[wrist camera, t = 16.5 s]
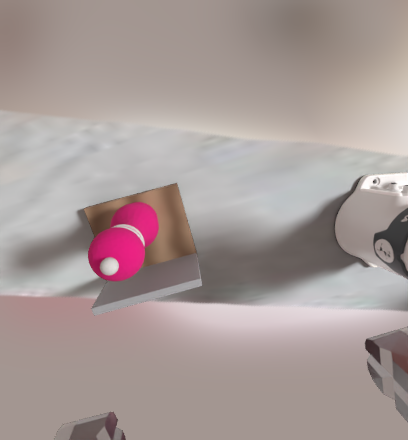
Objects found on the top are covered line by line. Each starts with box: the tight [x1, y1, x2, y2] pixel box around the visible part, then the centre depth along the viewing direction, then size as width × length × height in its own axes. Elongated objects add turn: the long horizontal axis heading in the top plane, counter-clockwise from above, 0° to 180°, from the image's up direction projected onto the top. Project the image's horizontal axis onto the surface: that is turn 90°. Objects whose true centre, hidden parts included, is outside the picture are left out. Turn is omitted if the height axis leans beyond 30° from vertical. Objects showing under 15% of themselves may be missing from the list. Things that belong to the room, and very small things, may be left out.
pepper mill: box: [88, 202, 159, 282], centre depth 34 cm, size 7×7×20 cm
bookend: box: [84, 183, 202, 315], centre depth 41 cm, size 16×14×12 cm
